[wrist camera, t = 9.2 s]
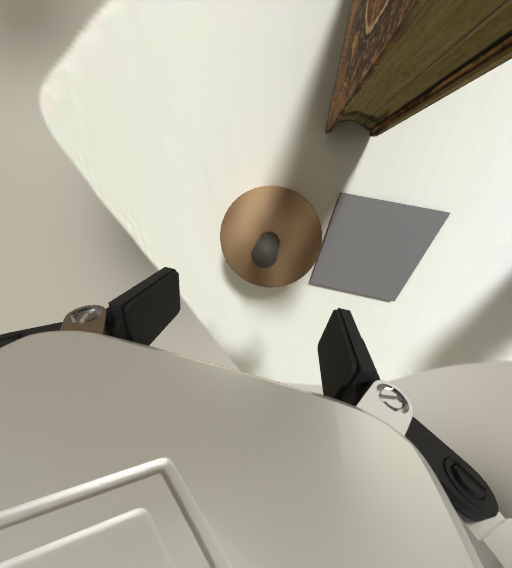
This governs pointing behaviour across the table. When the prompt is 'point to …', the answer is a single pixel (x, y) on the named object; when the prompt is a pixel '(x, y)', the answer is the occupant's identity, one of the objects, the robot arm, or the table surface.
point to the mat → (374, 245)
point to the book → (414, 56)
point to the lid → (271, 236)
